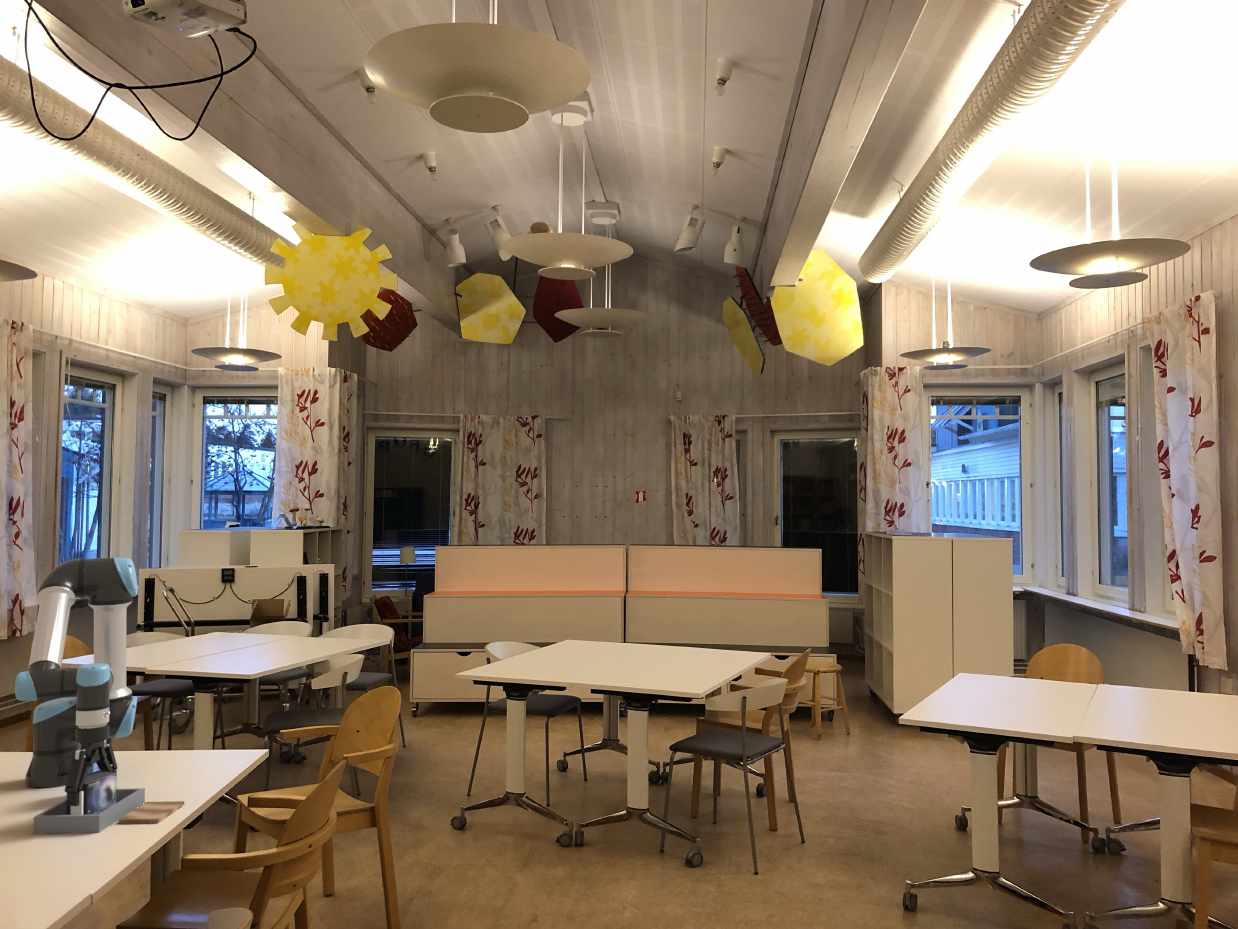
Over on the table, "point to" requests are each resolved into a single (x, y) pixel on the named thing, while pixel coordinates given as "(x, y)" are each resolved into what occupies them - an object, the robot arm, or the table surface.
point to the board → (151, 812)
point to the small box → (97, 792)
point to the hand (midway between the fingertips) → (91, 809)
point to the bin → (62, 823)
